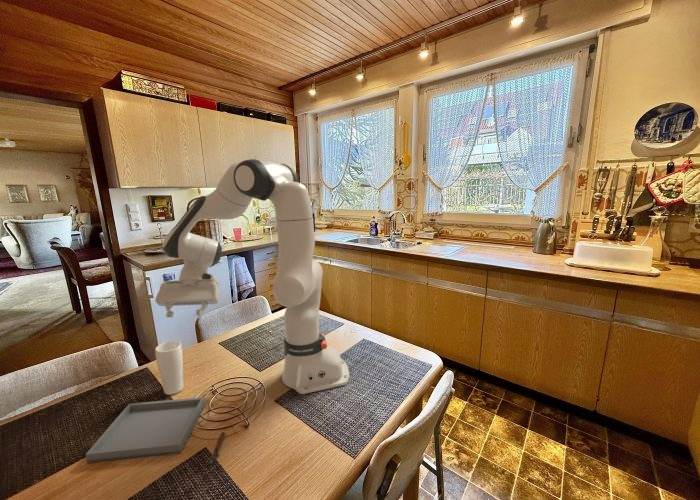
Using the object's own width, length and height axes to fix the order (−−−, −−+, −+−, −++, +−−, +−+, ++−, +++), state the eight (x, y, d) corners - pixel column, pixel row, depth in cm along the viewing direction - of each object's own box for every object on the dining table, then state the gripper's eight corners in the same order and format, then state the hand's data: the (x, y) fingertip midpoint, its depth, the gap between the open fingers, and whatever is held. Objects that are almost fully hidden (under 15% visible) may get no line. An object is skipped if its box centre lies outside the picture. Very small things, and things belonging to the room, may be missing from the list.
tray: (205, 404, 83) (204, 397, 82) (181, 453, 67) (179, 444, 67) (130, 411, 80) (129, 403, 80) (87, 463, 65) (85, 454, 64)
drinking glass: (174, 398, 85) (168, 353, 82) (155, 395, 87) (149, 350, 84) (191, 384, 92) (186, 341, 89) (173, 381, 93) (167, 339, 90)
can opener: (221, 435, 73) (221, 431, 73) (230, 435, 73) (230, 431, 73) (203, 469, 64) (202, 464, 64) (213, 469, 64) (213, 464, 64)
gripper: (158, 276, 101) (146, 314, 93) (219, 275, 104) (212, 311, 96) (165, 285, 106) (155, 320, 98) (223, 283, 109) (217, 318, 101)
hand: (184, 316), depth 97 cm, fingers open, 8 cm apart
